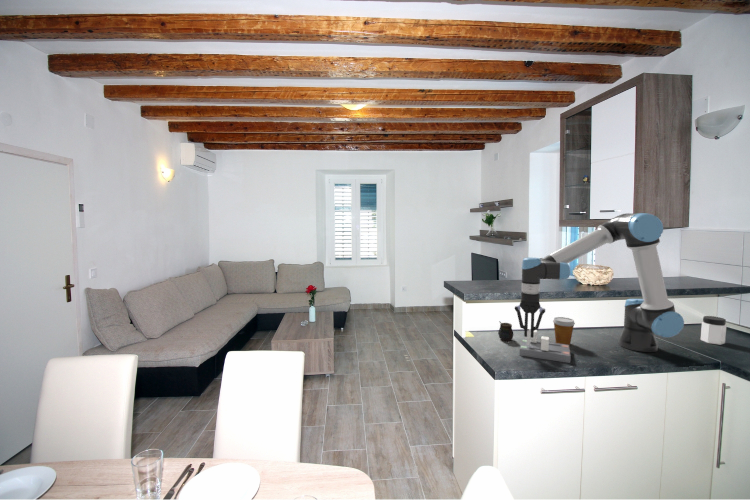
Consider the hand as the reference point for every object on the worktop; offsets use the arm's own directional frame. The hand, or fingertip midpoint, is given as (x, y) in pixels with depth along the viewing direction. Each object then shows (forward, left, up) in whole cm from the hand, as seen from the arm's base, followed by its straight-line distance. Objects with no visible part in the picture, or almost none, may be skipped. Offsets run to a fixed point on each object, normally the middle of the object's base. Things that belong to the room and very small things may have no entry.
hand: (528, 343), depth 163 cm
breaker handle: (-2, -9, -1) cm, 9 cm away
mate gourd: (+11, -16, -5) cm, 21 cm away
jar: (-82, -56, -5) cm, 99 cm away
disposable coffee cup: (-15, -22, -5) cm, 27 cm away
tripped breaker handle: (-7, 0, -1) cm, 7 cm away
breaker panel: (-7, -4, -5) cm, 9 cm away
